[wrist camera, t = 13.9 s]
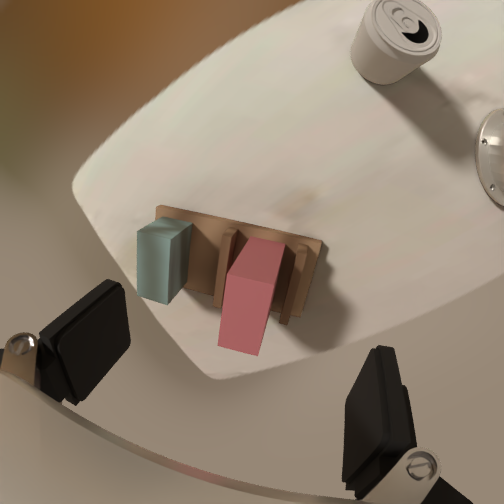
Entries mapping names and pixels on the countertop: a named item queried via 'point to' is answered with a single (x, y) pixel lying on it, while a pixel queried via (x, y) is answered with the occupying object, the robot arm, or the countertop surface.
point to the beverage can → (394, 40)
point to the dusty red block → (250, 295)
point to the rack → (216, 258)
